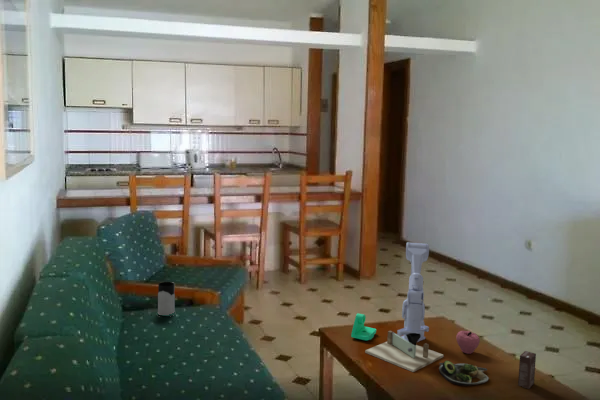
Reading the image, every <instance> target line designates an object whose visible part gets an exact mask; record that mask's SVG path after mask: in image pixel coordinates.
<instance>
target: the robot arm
mask: <svg viewBox="0 0 600 400" xmlns="http://www.w3.org/2000/svg"><path fill="white" fill-rule="evenodd" d="M429 255H430V245H429V243H421V242H410V241H407V242H406V245H405V258H406V259H405V260H407V261H409V262H410V266H411V268H410V275H409V280H408V291H407V293H406V294H407V297H406V299H405V300H403V302H402V306H401V307H402V309H401V310H402V311H401V318H402V319H403V321H404V322H403V323H404V324H403V328H400V329H397V330H396V331H397V333H396V334H397V335H399V336H400V337H402V338H404V339H405V340H407V341H409V342H410V343H412V344H414V345H415V346H416V345H418V344H417V343H419V342H420V341H423V340H425V339H426V337H427V336H425V332H427V333H429V331H430V327H429V326H428V325H425V321H424V320H425V311H426V308H425V303H424V300H425V299H424V297H425V294H424V293H425V292H424V276H423V275H422V274H421V271H422V267H423V266H422V265H423V263H424V262H427V261H428V259H429Z"/></svg>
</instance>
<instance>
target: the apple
mask: <svg viewBox="0 0 600 400" xmlns="http://www.w3.org/2000/svg"><path fill="white" fill-rule="evenodd" d="M456 342H457V345H458V347H459V348H460V351H461V352H462V353H465V354H469V355H471V354H473V353H474V351H475V350H476V349H477V348H478V346H479V344H480V337H479V336H478V335H477V333H475V332H472V331H470V330H460V331H458V332H457V334H456Z"/></svg>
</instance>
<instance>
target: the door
mask: <svg viewBox="0 0 600 400" xmlns="http://www.w3.org/2000/svg"><path fill="white" fill-rule="evenodd" d="M392 345H394V346H395V347H397V348H399V349H400V350H402V351H403V352H405V353H406V354H408V355H409V356H411V357H412V358H415V355H416V346H415V345H414V344H412V343H410V342H409V341H407V340H405V339H404V338H402V337H401V336H399V335H397V333H395V332H394V331H393V333H392Z"/></svg>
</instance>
